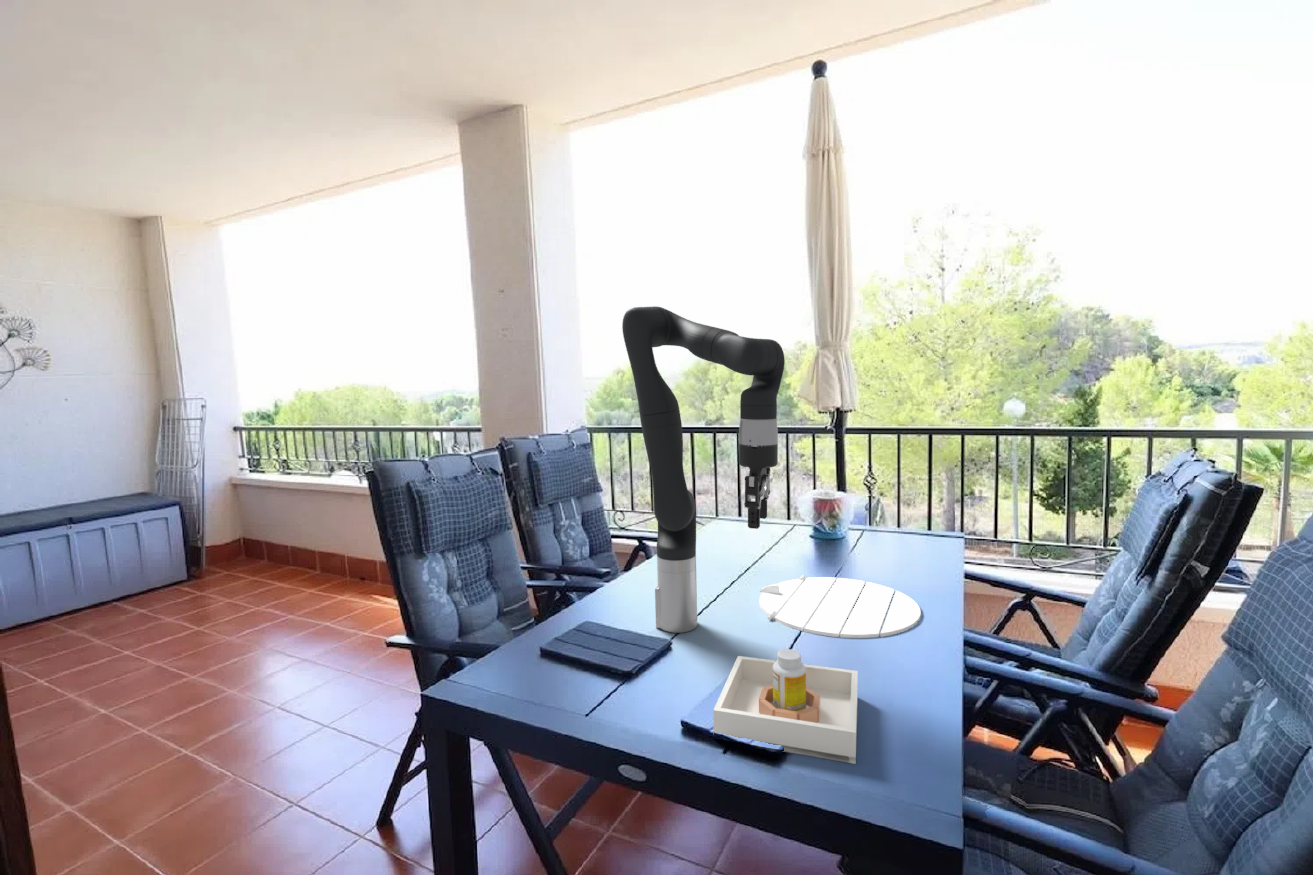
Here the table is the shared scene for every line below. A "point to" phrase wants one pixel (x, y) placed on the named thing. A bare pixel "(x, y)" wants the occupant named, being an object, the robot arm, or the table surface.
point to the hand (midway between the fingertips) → (757, 522)
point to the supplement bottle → (789, 681)
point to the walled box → (804, 732)
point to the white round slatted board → (839, 607)
